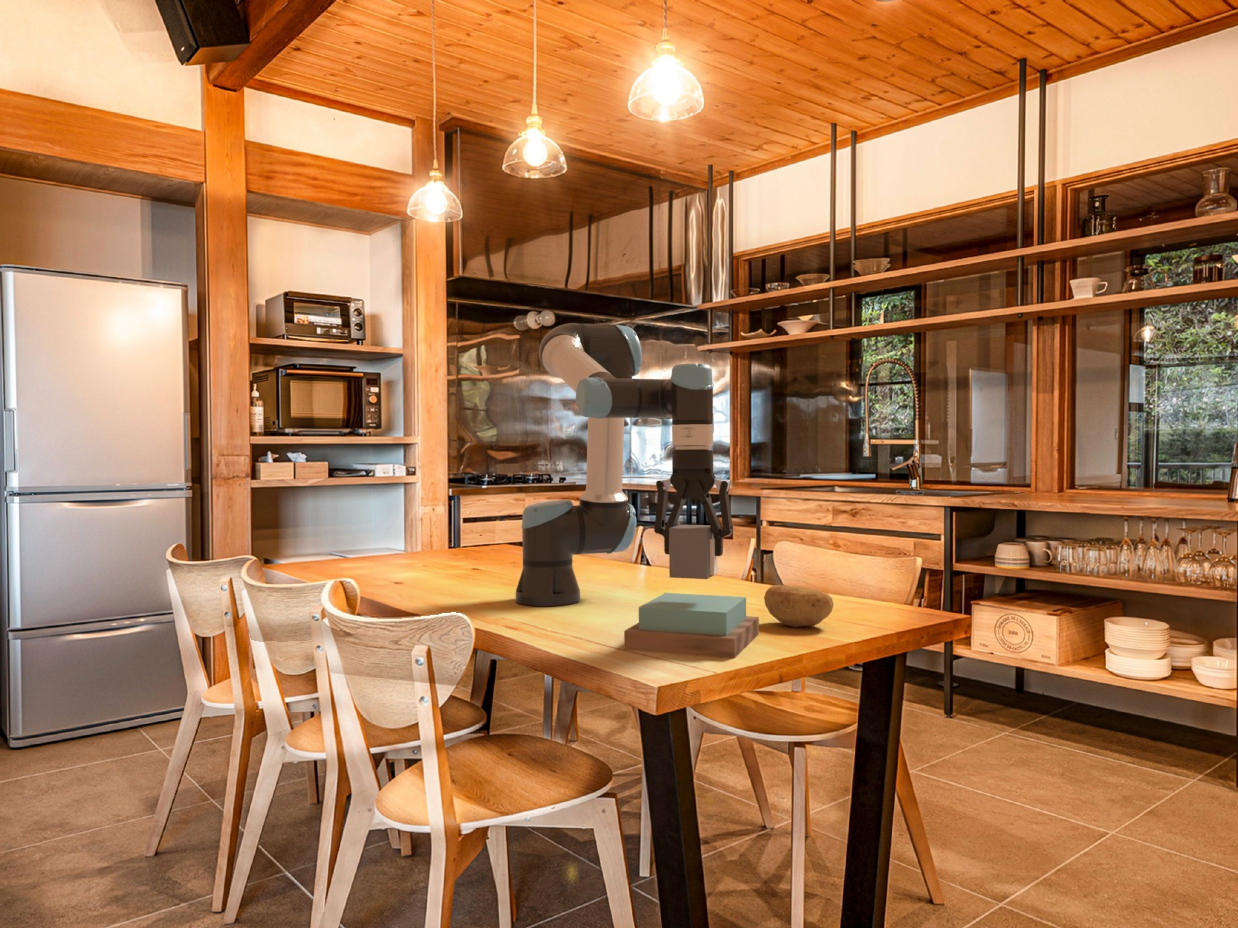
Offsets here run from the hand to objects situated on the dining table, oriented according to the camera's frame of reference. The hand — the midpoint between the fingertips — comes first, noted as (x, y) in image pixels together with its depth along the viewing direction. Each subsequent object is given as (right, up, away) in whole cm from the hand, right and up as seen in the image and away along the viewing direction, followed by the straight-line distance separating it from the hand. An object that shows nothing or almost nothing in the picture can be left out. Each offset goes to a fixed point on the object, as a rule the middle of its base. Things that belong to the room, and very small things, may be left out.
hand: (693, 572), depth 161 cm
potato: (+22, -13, +13) cm, 29 cm away
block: (0, 0, 0) cm, 0 cm away
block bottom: (0, -13, 0) cm, 13 cm away
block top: (0, -9, 0) cm, 9 cm away
